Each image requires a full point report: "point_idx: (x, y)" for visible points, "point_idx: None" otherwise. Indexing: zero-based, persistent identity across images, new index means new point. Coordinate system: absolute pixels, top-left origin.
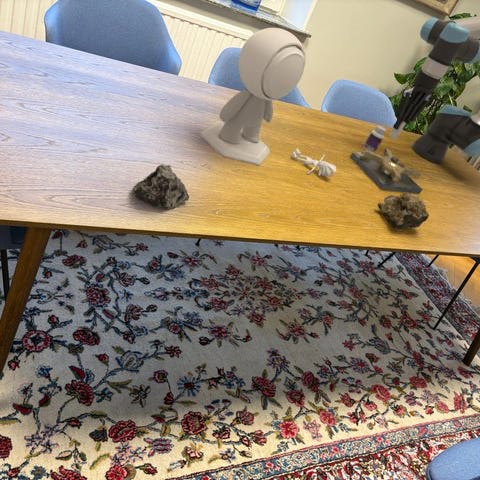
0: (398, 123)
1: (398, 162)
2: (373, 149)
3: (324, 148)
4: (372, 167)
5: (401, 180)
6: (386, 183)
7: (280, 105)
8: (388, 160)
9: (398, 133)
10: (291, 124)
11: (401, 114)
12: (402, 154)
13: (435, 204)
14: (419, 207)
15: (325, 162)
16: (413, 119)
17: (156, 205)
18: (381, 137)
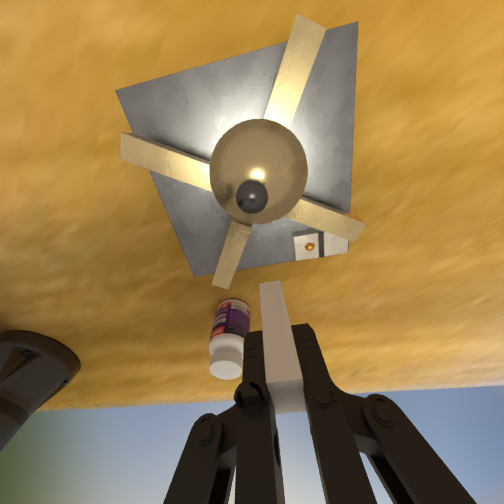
0: (323, 363)
1: (229, 191)
2: (232, 305)
3: (414, 257)
4: (319, 182)
5: (213, 130)
6: (329, 51)
7: (399, 380)
8: (288, 183)
9: (270, 306)
10: (436, 326)
11: (428, 469)
12: (120, 329)
13: (58, 18)
14: None
15: None
16: (196, 447)
17: None
18: (225, 337)
